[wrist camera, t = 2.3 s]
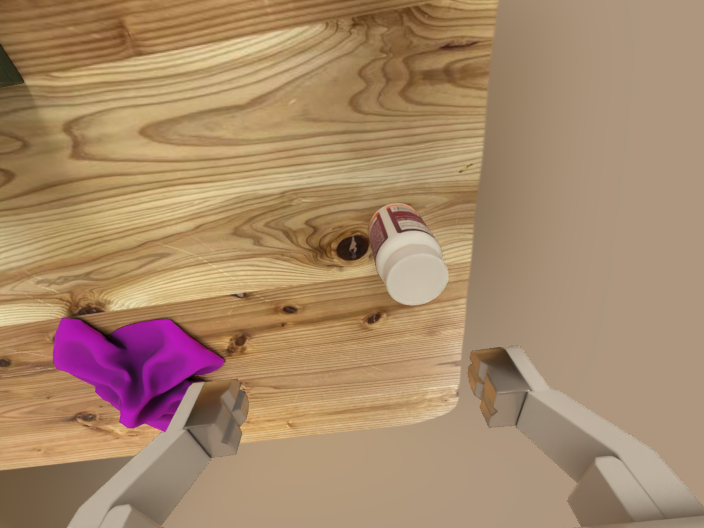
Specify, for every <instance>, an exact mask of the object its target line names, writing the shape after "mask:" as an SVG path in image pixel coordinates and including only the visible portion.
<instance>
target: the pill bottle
mask: <svg viewBox="0 0 704 528" xmlns="http://www.w3.org/2000/svg"><path fill="white" fill-rule="evenodd" d="M368 233H369V238H370V243H371V247H372V251H373V256H374V260H375V266H376V269H377V272H378V274H379V276H380V278H381V279H382V280H383V281H384V282H385V285H386V288H387V291H388V293H389V294H390V296H391V297H392V298H393V299H394V300H396V301H397V302H399V303H402V304H405V305H421V304H424V303H427V302H430V301H431V300H433V299H435V298H436V297H437V296H439V295H440V294H441V293H442V291H443V290H444V289H445V287H446V285H447V282H448V276H449V274H448V269H447V266H446V264H445V263H444V261H443V260H442V250H441V247H440V245H439V243H438V241H437V240H436V239H435V237H434V236H433V235H432V233H431V232H430V230H429V229H428V227H427V226H426V224H425V223H424V222H423V220H422V219H421V217H420V216H419V214H418V213H417V212H416V211H415V210H414V209H413V208H412V207H410V206H408V205H406V204H402V203H393V204H389V205H386V206H384V207H382V208H380V209H379V210H378V211H377V212H376V213H375V214H374V215H373V217H372V218H371V220H370V223H369V228H368Z"/></svg>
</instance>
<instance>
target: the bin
mask: <svg viewBox="0 0 704 528" xmlns="http://www.w3.org/2000/svg"><path fill="white" fill-rule="evenodd" d="M21 83H24V81H23V80H22V78H21V77H20V75H19V73H18V72H17V70H16V69H15V67H14V66H13V64H12V62H11V61H10V59H9V58H8V56H7V55H6V53H5V52H4V50H3V48H2V47H1V45H0V87H4V86H9V85H15V84H21Z"/></svg>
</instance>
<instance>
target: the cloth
mask: <svg viewBox="0 0 704 528" xmlns="http://www.w3.org/2000/svg"><path fill="white" fill-rule="evenodd" d="M224 362H225V361H224V359H222V358H221V357H219V356H218V355H216V354H215V353H213V352H211V351H210V350H208V349H207V348H206V347H204V346H203V345H202V344H200V343H199V342H197V341H196V340H194V339H193V338H192V337H190V336H189V335H187V334H186V333H185V332H184V331H183V330H181V329H180V328H179V327H178V326H177V325H176V324H174V323H173V322H172V321H171V320H168V319H159V320H151V321H144V322H139V323H135V324H131V325H127V326H124V327H122V328H119V329H117V330H116V331H114V332H113V333H112V334H111V335H110V336H108V337H106V338H105V337H104V336H103V335H102V334H101V333H100V332H98V331H96V330H95V329H93V328H91V327H90V326H88V325H87V324H86V323H84V322H82V321H81V320H78V319H68V318H62V319H61V322H60V324H59V326H58V329H57V331H56V334H55V344H54V350H53V363H54V365H55V367H56V368H57V369H58V370H62V371H65V372H68V373H70V374H71V375H73V376H75V377H77V378H79V379H81V380H83V381H85V382H87V383H89V384H92V385H94V386H95V392H96V393H97V394H98V395H99V396H100V397H101V398H102V399H103V400H105V401H108V402H110V403H111V404H112V405H113V406H114V407H115V408H117V409H118V410H119V411H120V414H121V415H120V421H119V422H120V423H122V424H123V425H124V426H126V427H127V428H135V427H138V426H140V425H142V424H147V425H150V426H152V427H154V428H157V429H159V430H162V431H164V432H166V430H167V428H168V426H169V424H170V422H171V420H172V418H173V416H174V415H175V413H176V411H177V409H178V407H179V405H180V403H181V401H182V399H183V397H184V395H185V393H186V391H187V389H188V388H189V387H190V386H191V385H192V384H193V383H198V382H203V381H201V380H195V381H189V379H190V378H191V377H192V376H194V375H204V374H208V373H211V372H213V371H215V370H217V369H219V368H220V367H221V366H222V365H223V363H224Z"/></svg>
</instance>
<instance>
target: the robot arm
mask: <svg viewBox="0 0 704 528" xmlns="http://www.w3.org/2000/svg"><path fill="white" fill-rule="evenodd" d="M470 360H471V362H472V364H471V365H470V366H469V367H468V378H469V382H470V386H471V389H472V391H473V393H474V395H475V396H476V397H478V398H479V399H480V400H481V404H480V409H481V411H482V414H483V416H484V418H485V420H486V422H487V425H488V427H489V428H491V427H504V426H516V428H518V429H519V430H520V431H521V432H522V433H523V434H524V435H525V436H526V437H528V439H530V440H531V441H532V442H533V443H534V444H535V445H536V446H537V447H538V448H539V449H541V450H542V451H543V452H544V453H545V454H546V455H547V456H548V457H549V458H550V459H552V460H553V461H554V462H555V463H556V464H557V465H558V466H559V467H560V468H561V469H563V470H564V471H565V472H566V473H567V474H568V475H569V476H570V477H571V478H572V479H574V480H575V481H576V482H577V485H576V486H575V488H574V489H573V490H572V492H571V493H570V495H569V497H568V500H567V501H568V503H569V505H570V507H571V509H572V511H573V512H574V514H575V516H576V518H577V520H578V522H579V524H580V525H581V527H577V528H704V506H703V505H702V504H701V503H700V501H699V500H698V499H697V498H696V497H695V496H694V495H693V493H692V492H691V491H690V490H689V489H688V488H687V487H686V486H685V484H684V483H683V482H682V481H681V480H680V479H679V478H678V476H677V475H676V474H675V473H674V472H673V471H672V470H671V469H670V467H669V466H668V465H667V464H666V463H665V462H664V460H663V459H662V458H661V457H660V456H659V455H658V454H657V453H656V451H655V450H653V449H652V448H650V447H649V446H647V445H645V444H644V443H642V442H641V441H639V440H637V439H636V438H634V437H633V436H631V435H629V434H628V433H626V432H624V431H623V430H621V429H620V428H618V427H616V426H615V425H613V424H612V423H610V422H609V421H607V420H605V419H604V418H602V417H600V416H599V415H597V414H596V413H594V412H592V411H590V410H589V409H588V408H586V407H584V406H583V405H581V404H580V403H578V402H576V401H575V400H573V399H572V398H570V397H568V396H567V395H565V394H564V393H562V392H560V391H559V390H557V389H551V388H550V387H549V386H548V384H547V383H546V382H545V380H544V379H543V378H542V376H541V375H540V373H539V372H538V371H537V369H536V368H535V366H534V365H533V364H532V362H531V361H530V359H529V358H528V357H527V355H526V354H525V352H524V351H523V350H522V348H521V347H519V346H508V347H497V348H489V349H482V350H474V351H472V352H471V353H470ZM240 386H241V384H240V382H239V380H238V379H229V380H219V381H207V382H198V383H193V384H192V385H191V386H190V387H189V388H188V389H187V391H186V393H185V395H184V397H183V399H182V401H181V403H180V405H179V407H178V409H177V411H176V413H175V415H174V416H173V418H172V420H171V422H170V424H169V426H168V428H167V430H166V432H161V433H160V434H159V435H158V436H157V437H156V438H154V439H153V440H152V441H151V442H150V443H149V444H148V445H147V446H146V447H145V448H144V449H142V450H141V451H140V452H139V453H138V454H137V455H136V456H135V457H134V458H133V459H132V460H131V461H129V462H128V463H127V464H126V465H125V466H124V467H123V468H122V469H121V470H120V471H119V472H117V473H116V474H115V475H114V476H113V477H112V478H111V479H110V480H109V481H108V482H107V483H105V484H104V485H103V486H102V487H101V488H100V489H99V490H98V491H97V492H96V493H95V494H93V495H92V496H91V497H90V498H89V499H88V500H87V501H86V502H85V503H84V504H83V505H82V506H80V508H79V509H78V510H77V512H76V514H75V515H74V517H73V519H72V520H71V522H70V523H69V525H68V527H67V528H163V527H162V526H161V525H162V524H163V523H164V521H165V520H166V519H167V517H168V516H169V515H170V514H171V512H172V511H173V510H174V508H175V507H176V506H177V504H178V503H179V502H180V500H181V499H182V498H183V496H184V495H185V494H186V492H187V491H188V490H189V488H190V487H191V486H192V484H193V483H194V482H195V480H196V479H197V478H198V477H199V475H200V474H201V473H202V471H203V470H204V469H205V467H206V466H207V464H208V463H209V462H210V461H211V458H215V457H222V456H229V455H236V453H237V450H238V446H239V443H240V439H241V436H242V431H241V429H240V426H241V425H242V424H243V423H244V422H245V421H246V419H247V415H248V409H249V401H248V396H247V394H246V392H244V391H242V390H240Z"/></svg>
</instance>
